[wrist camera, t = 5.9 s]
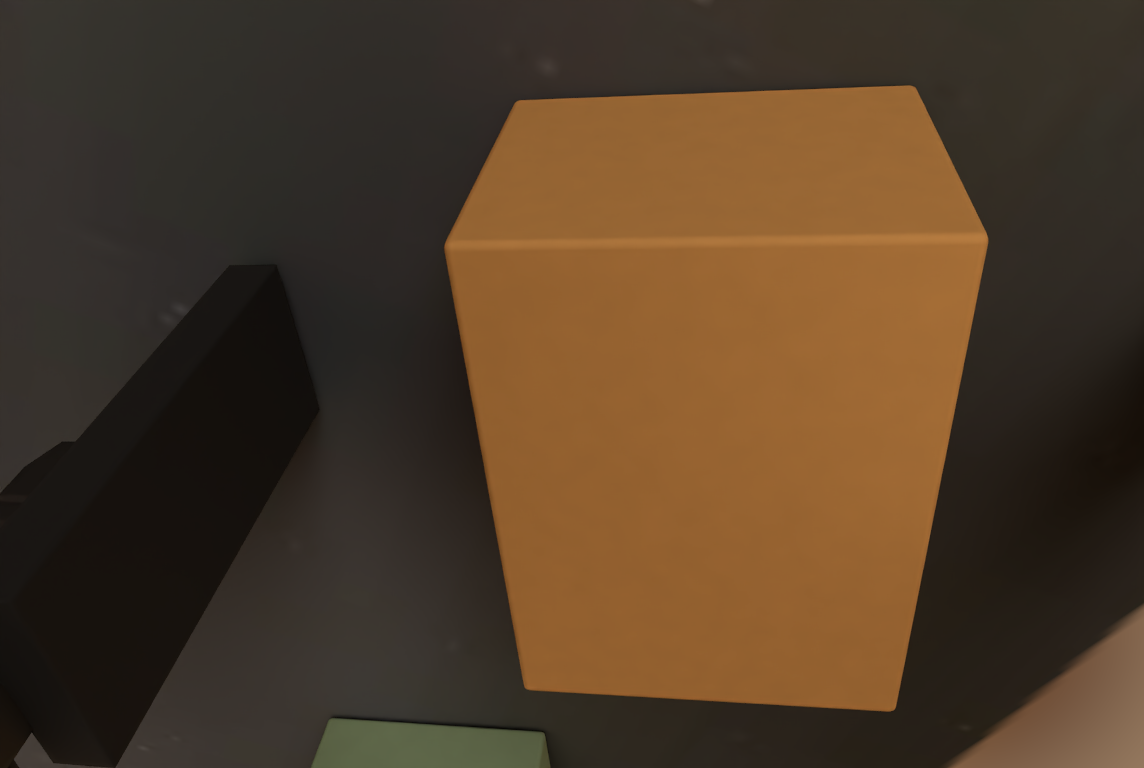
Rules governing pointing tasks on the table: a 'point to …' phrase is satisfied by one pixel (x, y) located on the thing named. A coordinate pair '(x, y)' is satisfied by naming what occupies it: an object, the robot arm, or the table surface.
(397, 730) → the pad green
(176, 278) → the table surface
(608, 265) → the block ochre
